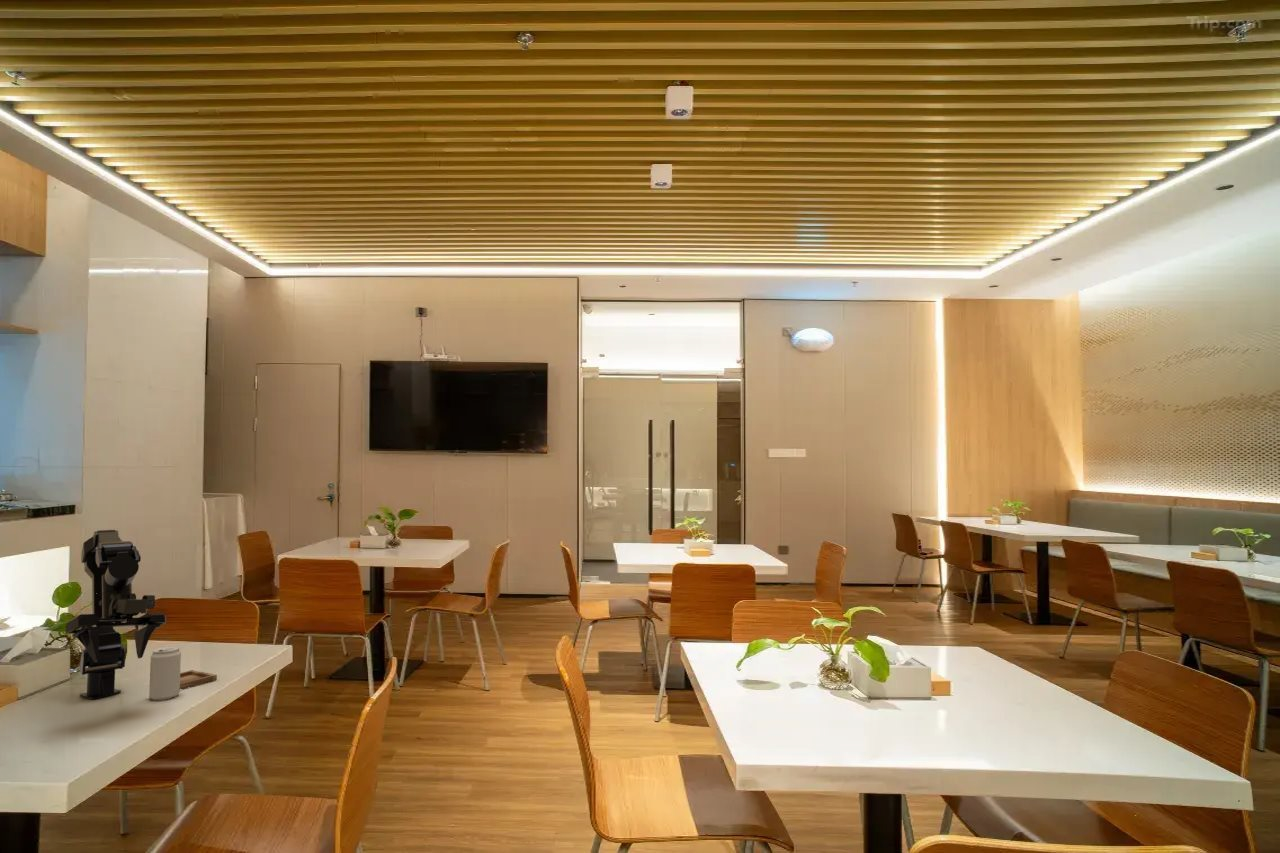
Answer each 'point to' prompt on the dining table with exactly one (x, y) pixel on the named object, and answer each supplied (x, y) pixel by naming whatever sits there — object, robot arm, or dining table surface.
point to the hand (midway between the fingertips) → (118, 659)
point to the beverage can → (165, 673)
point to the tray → (195, 678)
